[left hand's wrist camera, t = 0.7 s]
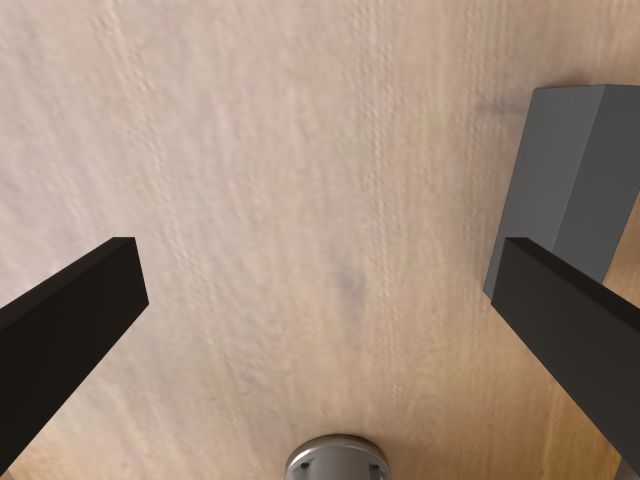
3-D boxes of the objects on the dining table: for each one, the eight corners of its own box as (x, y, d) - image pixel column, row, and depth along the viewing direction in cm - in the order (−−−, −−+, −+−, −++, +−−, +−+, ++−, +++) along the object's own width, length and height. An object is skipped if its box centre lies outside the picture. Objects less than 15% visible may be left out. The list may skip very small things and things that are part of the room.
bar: (528, 292, 39) (580, 339, 31) (482, 291, 39) (523, 337, 31) (591, 91, 31) (681, 87, 23) (533, 88, 31) (605, 84, 23)
